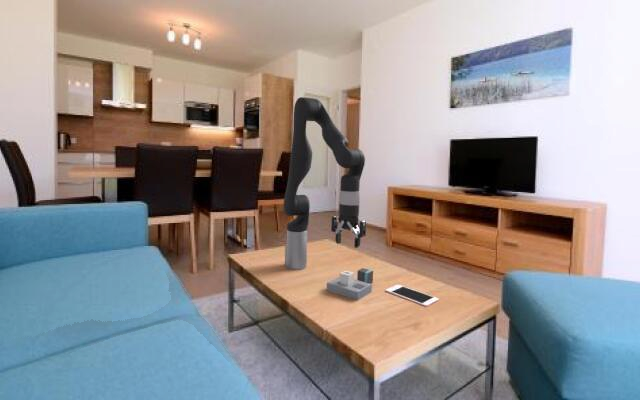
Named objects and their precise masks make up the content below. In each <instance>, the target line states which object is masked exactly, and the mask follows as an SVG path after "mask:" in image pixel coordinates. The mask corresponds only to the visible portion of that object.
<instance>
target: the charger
mask: <svg viewBox="0 0 640 400" xmlns="http://www.w3.org/2000/svg"><path fill="white" fill-rule="evenodd" d="M339 277H340V284H342V285H346V286H349V285H351V284H353V283H354V279H355V272H353V271H348V270H344V271H341V272H340V273H339Z"/></svg>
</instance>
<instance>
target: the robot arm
mask: <svg viewBox="0 0 640 400" xmlns="http://www.w3.org/2000/svg"><path fill="white" fill-rule="evenodd" d="M307 122H315V123H317V125H319V126H320V128H321V136H322V139H323V141H324V142H325V144H326V145H327V146H328V147H329V148H330V150H331V151H332V154H333V156H334V159H335V161H336V163H337V164H338V165H339V166H340V167H341V168H343V169H348V171H347V173H346V174H344V175H341V177H340V191H339V197H338V198H339V203H338V215H339V216H338V215H334V216H332V217H331V228H330V230H331V232H333V233H335V243H336V244H337V245H339V244H341V243H342V232H343V230H348V231H351V233H352V234H353V236H354V245H353V247H354V248H355V249H358V248H359V247H360V245H361V239H362V238H364V237H366V236H367V235H366V234H367V231H366V229H367V221H366V220H364V219H363V220H360V219H359V215H360V203H361V201H360V198H361V197H360V181H361V178H362V175H363V172H364V168H365V164H366V157H365V153H364V152H363V150H361V149H359V148H348V147H349V145H350V144H349V140H348V139H347V137H345V135H344V134H343V132H341V131H340V129H339V128H338V127H337V126H336V124H335V123H334V122H333V119H332V118H331V116H330V114H329V113H328V111H327V109H326V107H325V106H324V104H323V103H322V102H321V101H320V100H319V99H318V98H313V97H305V96H302V97H300V96H299V97H298V98H297V100H296V101H295V103H294V107H293V125H292V126H293V127H292V129H293V131H292V132H293V133H292V141H291V143H292V144H291V150H290V156H289V157H290V158H289V159H290V160H289V168H288V170H289V171H288V177H287V178H288V179H287V184H286V188H285V189H286V190H285V194H284V199H283V212H284V214H285V215H286V216H288V217H294V216H296V217H295V218H294V219H293V220H292V221H290V222H288V223H287V224H286V245H284V246H285V247H284V266H285V267H286V268H288V269H289V270H303V269H306V268H307V258H308V257H307V256H308V255H307V254H308V253H307V252H308V226H309V221H310V209H311V208H310V207H311V206H310V200H309V199H310V198H309V197H308V196H307V195H305V194H298V189H299V186H300V185H301V183H302V181H304V179H305V178H306V177H307V175H308V174H309V172H310V170H311V168H312V162H313V161H312V160H313V149H312V147H311V145H310V142H309V139H308V136H307V131H306V130H307ZM338 224H339V225H338Z"/></svg>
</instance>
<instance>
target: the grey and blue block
mask: <svg viewBox="0 0 640 400" xmlns="http://www.w3.org/2000/svg"><path fill="white" fill-rule="evenodd" d="M356 275H357V276H356V280H358V281H362V282H365V283H369V284H373V283H374V270H372V269H368V268H365V267H362V268H360V269H358V270H357V274H356Z"/></svg>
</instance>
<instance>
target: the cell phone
mask: <svg viewBox="0 0 640 400" xmlns="http://www.w3.org/2000/svg"><path fill="white" fill-rule="evenodd" d="M384 292H386V293H387V294H388V293H389V294H391V295H394V296H395V297H396V296H397V297H399V298H402V299H404V300H408V301H410V302H412V303H415V304H417V305H421V306H423V307H426V308H427V307H429V306H431V305H433V304H435V303H437V302H438V301H439V298H438V297H436V296H432V295H429V294H427V293H423V292H421V291H418V290H416V289H412V288H409V287H406V286H405V285H401V284H395V285H393V286H391V287H389V288H386V289H385V290H384Z"/></svg>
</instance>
